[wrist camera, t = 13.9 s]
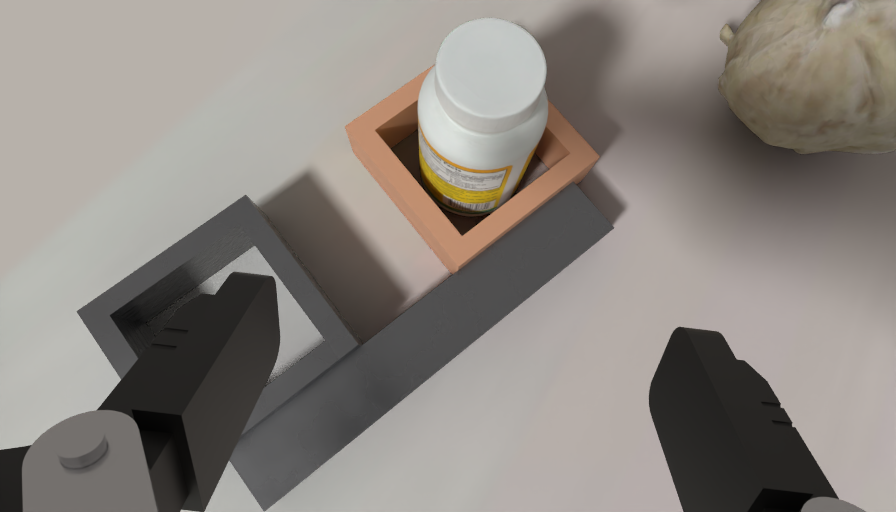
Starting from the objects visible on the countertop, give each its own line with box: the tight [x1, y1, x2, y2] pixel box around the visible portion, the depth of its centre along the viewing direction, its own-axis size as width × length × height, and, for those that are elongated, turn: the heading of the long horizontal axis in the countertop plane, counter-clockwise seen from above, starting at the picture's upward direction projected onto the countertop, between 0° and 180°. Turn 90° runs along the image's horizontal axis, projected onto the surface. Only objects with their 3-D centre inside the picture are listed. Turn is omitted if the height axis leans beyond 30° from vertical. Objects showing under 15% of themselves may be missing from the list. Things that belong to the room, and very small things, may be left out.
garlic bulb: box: [718, 0, 896, 154], centre depth 25 cm, size 9×8×10 cm
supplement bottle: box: [418, 18, 548, 216], centre depth 24 cm, size 5×5×10 cm
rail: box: [77, 182, 614, 511], centre depth 25 cm, size 21×12×3 cm, turn 128°
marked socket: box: [345, 65, 600, 275], centre depth 27 cm, size 9×9×3 cm
